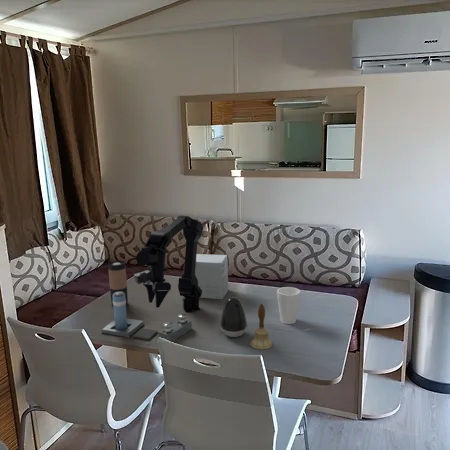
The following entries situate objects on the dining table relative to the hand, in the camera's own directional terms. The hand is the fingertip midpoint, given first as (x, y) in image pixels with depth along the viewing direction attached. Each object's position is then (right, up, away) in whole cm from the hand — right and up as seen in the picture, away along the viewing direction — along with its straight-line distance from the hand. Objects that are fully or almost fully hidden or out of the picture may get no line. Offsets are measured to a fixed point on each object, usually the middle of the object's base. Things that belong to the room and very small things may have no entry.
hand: (153, 305), depth 175 cm
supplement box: (+19, -3, +44) cm, 48 cm away
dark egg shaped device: (+31, -12, +2) cm, 33 cm away
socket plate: (-14, -11, +9) cm, 20 cm away
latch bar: (+8, -12, +3) cm, 15 cm away
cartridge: (-14, -11, +7) cm, 20 cm away
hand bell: (+41, -14, -7) cm, 44 cm away
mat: (-4, -12, +2) cm, 13 cm away
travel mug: (-21, -6, +33) cm, 39 cm away
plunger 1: (+6, -11, -1) cm, 13 cm away
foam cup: (+54, -9, +12) cm, 56 cm away
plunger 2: (+11, -9, +6) cm, 15 cm away
